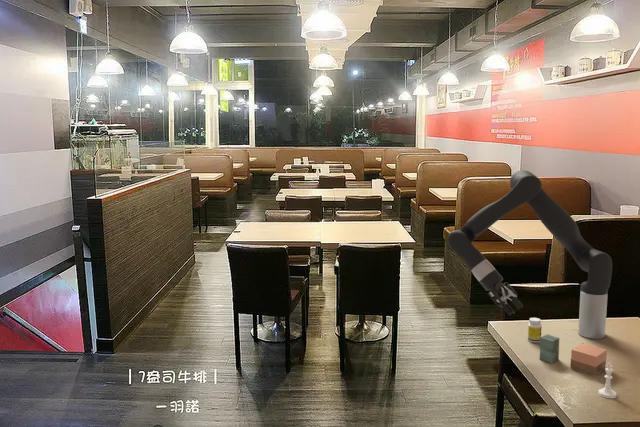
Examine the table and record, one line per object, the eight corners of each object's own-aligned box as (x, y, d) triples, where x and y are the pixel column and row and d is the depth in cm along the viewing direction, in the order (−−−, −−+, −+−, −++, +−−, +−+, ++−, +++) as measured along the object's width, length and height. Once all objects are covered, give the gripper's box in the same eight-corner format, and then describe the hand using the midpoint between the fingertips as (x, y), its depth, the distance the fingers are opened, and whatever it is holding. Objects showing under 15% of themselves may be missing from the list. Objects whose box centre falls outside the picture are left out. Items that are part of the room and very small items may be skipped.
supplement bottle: (542, 343, 203) (542, 321, 202) (528, 342, 204) (529, 321, 203) (539, 338, 208) (540, 317, 207) (526, 337, 209) (527, 316, 208)
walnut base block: (581, 361, 188) (581, 352, 187) (605, 369, 182) (605, 359, 181) (570, 368, 183) (570, 359, 182) (594, 376, 177) (595, 366, 176)
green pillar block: (546, 355, 193) (546, 334, 191) (558, 359, 189) (559, 337, 188) (539, 359, 190) (540, 337, 188) (552, 363, 186) (553, 341, 185)
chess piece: (616, 399, 161) (618, 368, 159) (597, 396, 164) (599, 364, 162) (617, 392, 165) (619, 361, 163) (599, 389, 168) (600, 358, 166)
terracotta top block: (581, 352, 187) (582, 343, 186) (606, 359, 181) (606, 349, 180) (571, 359, 182) (571, 349, 181) (595, 367, 176) (596, 356, 175)
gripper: (486, 273, 192) (517, 310, 187) (501, 264, 203) (531, 300, 198) (471, 285, 197) (501, 322, 191) (487, 276, 207) (516, 311, 202)
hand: (516, 311), depth 194 cm, fingers open, 8 cm apart
